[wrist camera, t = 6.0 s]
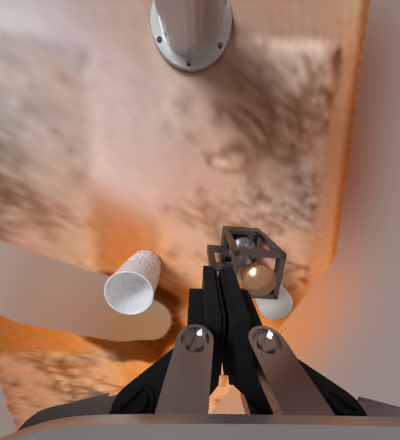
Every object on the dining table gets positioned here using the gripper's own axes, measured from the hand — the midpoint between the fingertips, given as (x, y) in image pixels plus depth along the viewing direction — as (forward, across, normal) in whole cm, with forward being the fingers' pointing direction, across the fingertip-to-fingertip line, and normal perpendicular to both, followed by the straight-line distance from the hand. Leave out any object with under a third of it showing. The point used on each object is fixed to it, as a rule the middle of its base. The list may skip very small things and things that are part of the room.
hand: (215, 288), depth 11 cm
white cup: (+27, +12, +14) cm, 32 cm away
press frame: (+27, -6, +8) cm, 29 cm away
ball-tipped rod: (+24, -8, +8) cm, 26 cm away
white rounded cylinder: (+26, -13, +16) cm, 34 cm away
